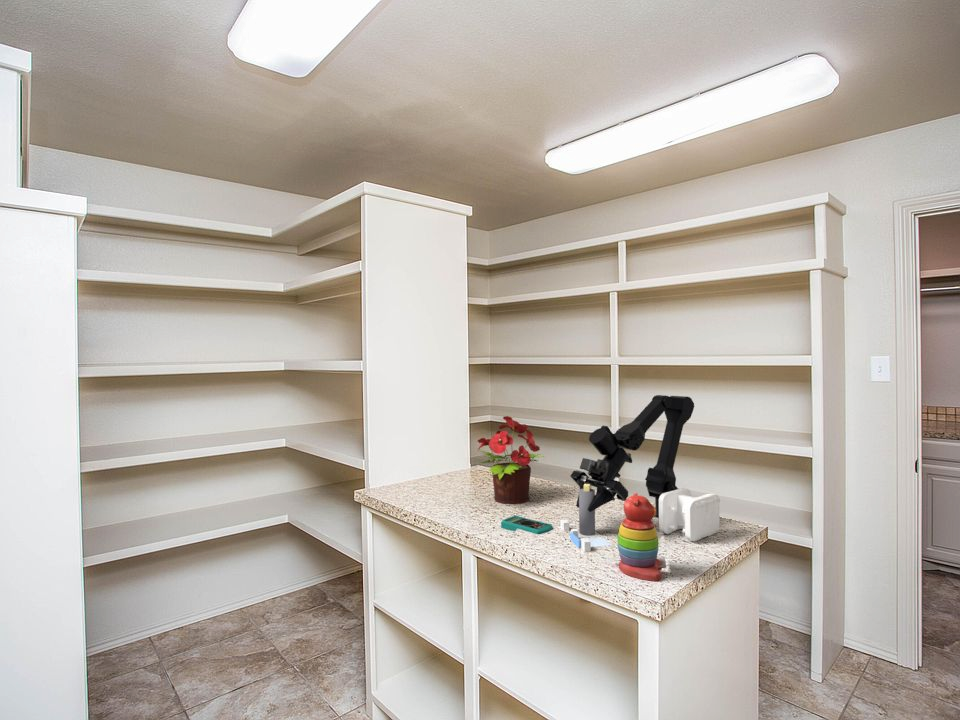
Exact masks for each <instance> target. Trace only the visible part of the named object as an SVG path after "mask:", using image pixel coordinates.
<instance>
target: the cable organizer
mask: <svg viewBox="0 0 960 720" xmlns="http://www.w3.org/2000/svg"><path fill="white" fill-rule="evenodd" d="M691 491H692V490H690V489H689V488H685V487H682V488H678V489H677V490H673V491H670V492H666V493H663V494H661V495H660V497H659V518H658V529H659V531H660V532H662V533H664V534H665V535H669V534H671V533H673V532H675V531H676V530H682V531H681V533H682V535H683V536H684V537H685V539H686V540H688V541H689V540H690V541H692V542H693V543H694V542H697V541H700V540H701V539H703V538H705V537H707V536H708V537H710V536H712V535H714V534H716V533H717V532H718V531H719V529H720V526H721V525H720V503H721V499H720V497H719V495H718V494H715V493H707V494H703V495H700V496H695V497H694V496H692V492H691Z"/></svg>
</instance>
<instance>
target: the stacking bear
mask: <svg viewBox="0 0 960 720" xmlns="http://www.w3.org/2000/svg"><path fill="white" fill-rule="evenodd" d="M623 502H624V504H623V511H624V515H625V518H623V520H622V521H621V523H620V526H619V530H618V533H617V548H618V554H619V557H620V561H619V563H618V570H619V571H620V572H621V573H623V574H625V575H626V576H629V577H633V578H636V579H639V580H644V581H652V582H658V581H660V580H662V578H663V577H662V576H663V575H662V573H661V571H660V570H662V569H663V567H661V565H663V562H662V560H660V559H658V553H659V548H660V547H659V545H660V544H659V543H660V541H659V537H658V533H657V529H656V526H655V523H654V522H653V518H655V517H654V516H655V514H656V511H657V510H656V508H655V506H654V505H653V504H652V503H651V502H650V500H649V499H648V498H647V497H645V496H643V495H638V493H636V492H635V493H634V494H633V495H630V496H628V497H627V499H626V500H625V501H623Z"/></svg>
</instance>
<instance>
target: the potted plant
mask: <svg viewBox="0 0 960 720" xmlns="http://www.w3.org/2000/svg"><path fill="white" fill-rule="evenodd" d="M502 419H503V420H504V421H505V424H501V425H500V426H498V429H499V430H497V431H496V432H495V434H494V435H493V436H492V437H491V438H489V439H488V438H485V437H482V438H480V439H477V442H478V443H479V444H480V445H479V446H478V448H477V452H480V449H481V448H482V447H486V446H488V447H489V449H490V451H491V452H487V451H484V450H481V453H483V455H485V456H483V457H484V458H485V457H486V458H487V457H488V459H487V460H485V461H482V462H478V463H475V464H474V466H476V465H479V464H483V465H484V464H487V463H488V464H492V463H493V464H494V463H496V464H494V465H493V466H491V468H489V469H488V472H490V474H492V482H493V493H494V496H493V498H494V499H493V500H494V501H495V502H496V503H499V504H505V505H519V504H524V503H527V502H529V501H530V484H531V472H532V468H531V466H530V465H529V464H530V463H531V462H532V463H534V462H538V461H539V459H535V458H540V457H542V458H547V457H546V456H545V455H544V456H543V455H542V454H541V453H539V454H538V453H537V454H535V453H536V452H538V451H540V450H541V449H540V446H539V445H537V444H536V441H535V440H534V438H533V433H532V431H531V430H529V429H527V428H528V426H527V425H526V424H521V423H519V422H518V421H517V420H514V419H513V417H511V416H508V415H507V416H503V417H502ZM506 428H509V429H510V430H511V431H512V434H514V432H515V433H517V437H519V438H521V439H523V440H525V441H526V442H525V443H526V446H525V445H520V446H518V450H517V449H513V450H512V451H511V453H510V454H509V452H508V450H507V447H508V446H511V448H513V444H514V436H512V435H511V436H510V435H509V433H508V431H506V430H503V429H506ZM524 433H526V437H525V436H524V435H523V434H524ZM527 447H528V448H529V450H530V451H532V452H535V453H530V452H529V451H528V450H527V449H526V448H527ZM503 453H504V455H501V454H503ZM506 453H507V454H506ZM494 454H497V455H494ZM499 454H500V455H499ZM502 461H504V462H502Z"/></svg>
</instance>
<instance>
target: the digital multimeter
mask: <svg viewBox="0 0 960 720" xmlns="http://www.w3.org/2000/svg"><path fill="white" fill-rule="evenodd" d="M500 528H501V529H504V530H508V531H512V532H517V530H521V531H525V532H529V533H532V534H535V535H541V534H545V533H547V532H550V531H551V530H552V529H553V528H554V527H553V525H552V524H551V523H547V522H543V521H538V520H534V519H530V518H526V517H523V516H519V515H513V516H510V517H507V518H504V519H503V520H501V521H500Z"/></svg>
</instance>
